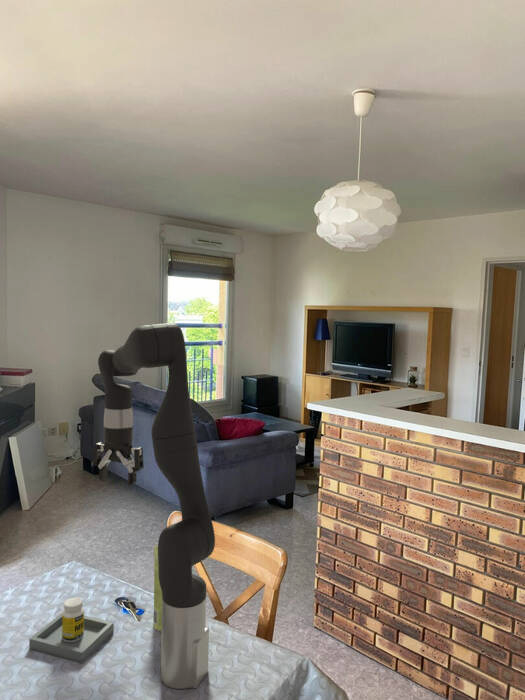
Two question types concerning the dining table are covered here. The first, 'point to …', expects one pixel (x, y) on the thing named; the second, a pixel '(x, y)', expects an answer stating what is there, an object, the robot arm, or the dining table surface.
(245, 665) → the dining table surface
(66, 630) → the supplement bottle
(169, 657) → the robot arm
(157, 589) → the tube
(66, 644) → the tray
